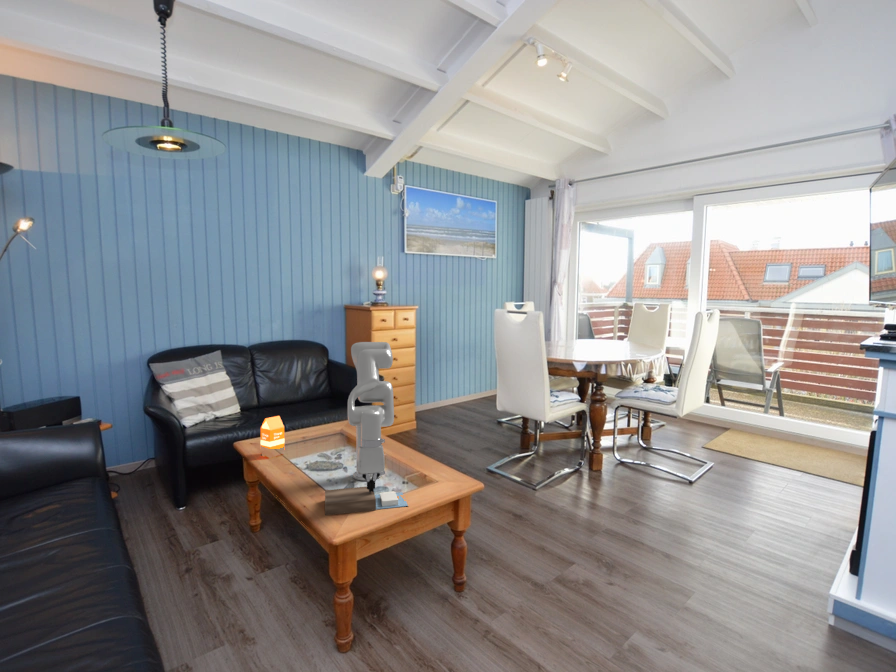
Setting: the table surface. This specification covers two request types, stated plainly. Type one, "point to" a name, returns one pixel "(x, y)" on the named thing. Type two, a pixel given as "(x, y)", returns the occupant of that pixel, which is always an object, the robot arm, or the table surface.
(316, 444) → the table surface
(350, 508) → the brown wooden block
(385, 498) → the off-white flat slab
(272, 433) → the orange juice
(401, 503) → the mat
